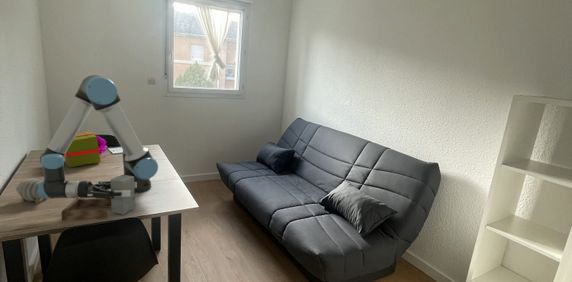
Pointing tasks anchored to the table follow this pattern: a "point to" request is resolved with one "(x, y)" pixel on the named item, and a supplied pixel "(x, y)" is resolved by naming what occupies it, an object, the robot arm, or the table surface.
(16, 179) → the table surface
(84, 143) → the gift box
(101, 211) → the walnut u-shaped frame
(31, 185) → the grey ribbed rounded piece
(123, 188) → the skincare box
